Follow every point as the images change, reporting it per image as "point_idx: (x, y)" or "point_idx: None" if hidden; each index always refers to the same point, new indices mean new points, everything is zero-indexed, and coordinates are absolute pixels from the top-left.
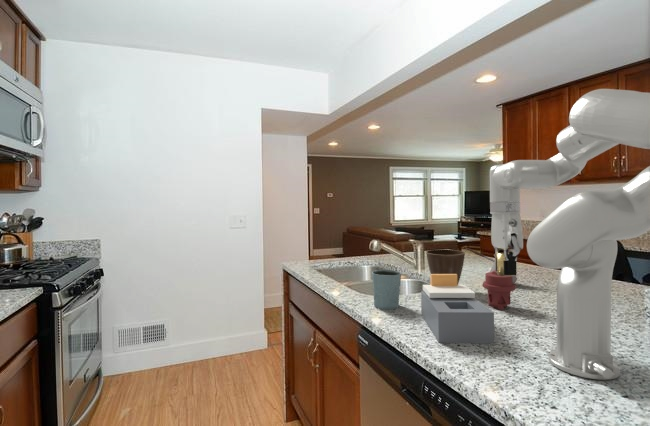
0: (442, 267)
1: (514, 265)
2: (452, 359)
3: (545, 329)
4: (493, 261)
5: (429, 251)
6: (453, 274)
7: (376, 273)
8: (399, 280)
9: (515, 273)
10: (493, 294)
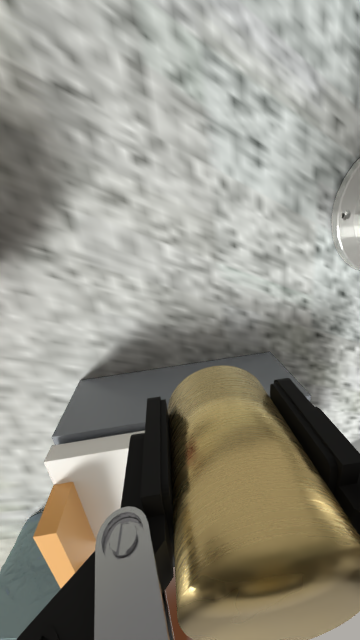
0: None
1: (348, 442)
2: (335, 425)
3: (161, 187)
4: None
5: None
6: (51, 543)
7: None
8: (30, 606)
9: (292, 386)
10: None
